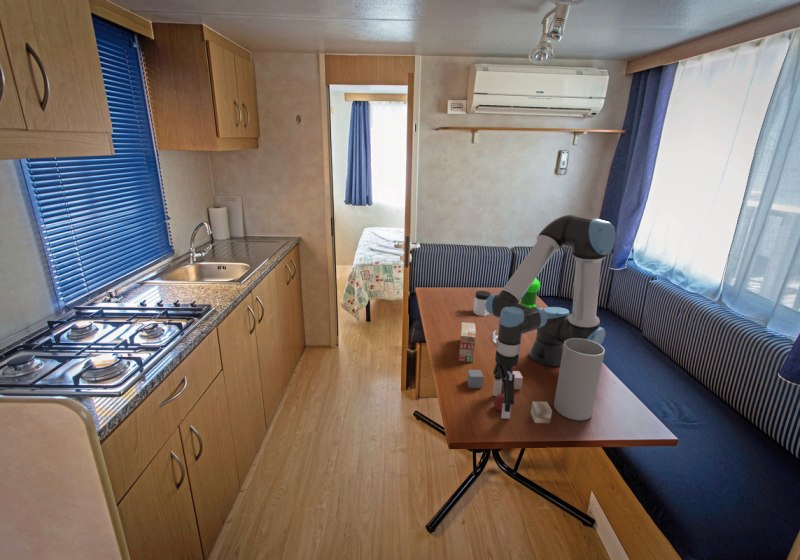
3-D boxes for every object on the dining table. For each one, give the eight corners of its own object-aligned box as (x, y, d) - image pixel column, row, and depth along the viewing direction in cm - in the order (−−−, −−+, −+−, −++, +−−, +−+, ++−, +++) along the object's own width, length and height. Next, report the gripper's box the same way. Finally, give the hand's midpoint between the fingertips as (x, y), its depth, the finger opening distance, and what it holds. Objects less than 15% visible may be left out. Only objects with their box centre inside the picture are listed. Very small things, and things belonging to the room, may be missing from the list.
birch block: (544, 414, 141) (546, 401, 140) (549, 423, 137) (551, 410, 135) (530, 413, 141) (532, 401, 140) (534, 423, 137) (536, 410, 135)
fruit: (507, 410, 146) (505, 387, 148) (514, 412, 140) (512, 388, 142) (491, 411, 145) (489, 388, 147) (497, 413, 140) (495, 389, 141)
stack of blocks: (460, 339, 195) (462, 315, 192) (473, 341, 194) (475, 317, 191) (458, 361, 175) (460, 335, 171) (473, 363, 174) (475, 336, 170)
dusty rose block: (517, 382, 160) (519, 371, 159) (521, 389, 156) (523, 378, 154) (505, 382, 160) (506, 370, 159) (508, 389, 156) (509, 377, 154)
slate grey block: (479, 381, 160) (480, 370, 159) (482, 388, 156) (483, 376, 154) (467, 380, 160) (468, 369, 159) (468, 388, 156) (470, 376, 154)
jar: (491, 315, 224) (493, 295, 221) (477, 316, 223) (479, 296, 219) (484, 309, 233) (486, 290, 229) (471, 310, 231) (473, 290, 227)
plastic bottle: (513, 312, 230) (519, 270, 222) (523, 308, 236) (529, 267, 229) (529, 318, 223) (535, 274, 215) (539, 313, 229) (545, 271, 222)
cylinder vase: (554, 396, 152) (564, 335, 144) (591, 405, 147) (603, 342, 139) (552, 415, 141) (563, 350, 133) (592, 425, 136) (605, 358, 128)
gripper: (489, 335, 150) (483, 386, 156) (505, 370, 126) (498, 428, 133) (509, 336, 150) (503, 387, 156) (529, 371, 126) (521, 429, 133)
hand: (500, 406), depth 145 cm, fingers open, 13 cm apart
